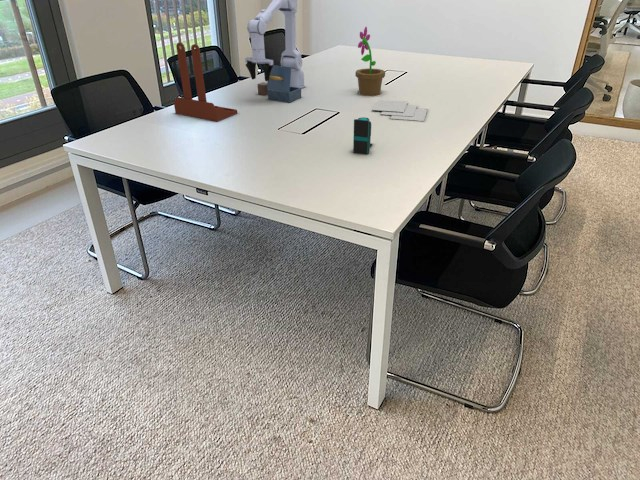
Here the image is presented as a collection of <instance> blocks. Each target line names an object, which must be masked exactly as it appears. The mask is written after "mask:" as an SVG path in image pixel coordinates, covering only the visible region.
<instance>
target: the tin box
mask: <svg viewBox="0 0 640 480" xmlns="http://www.w3.org/2000/svg"><path fill="white" fill-rule="evenodd" d="M267 92H268V95H267V100H270V101H276V102H282V103H289V104H290V103H292V102H295V101H297V100H299V99H301V98H302V88H297V87H290V91H289V92H283V91H276V90H270V89H268V90H267Z"/></svg>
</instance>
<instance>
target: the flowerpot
mask: <svg viewBox="0 0 640 480" xmlns="http://www.w3.org/2000/svg"><path fill="white" fill-rule="evenodd" d="M359 38H360V40H361V41H359V42H358V44H357V48H358V49H360V54H361V56H362V57H361V59H360V60H361V61H363V62H365V63H367V62H369V67H367V68H360V69H357V70H356V71H355V77H356V78H357V86H358V94H360V95H361V96H367V97H375V96H378V95H380V94H381V89H382V83H383V79H384V78H385V77H386V71H385V70H383V69H381V68H372V67H374V66H376V64H377V62H376V60H373V59H372V58H373V56H372V49H371V46H370V44H369V42H368V41H369V40H371V39H370V38H371V34H368V27H367V26H365V27H364V28H363V32H362V31H359ZM365 50H366V51H368V54H365ZM364 54H365V55H364ZM363 55H364V56H363Z"/></svg>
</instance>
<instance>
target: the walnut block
mask: <svg viewBox="0 0 640 480" xmlns="http://www.w3.org/2000/svg"><path fill="white" fill-rule="evenodd" d="M267 90H268V89H267V82H264V81H262V82H260V83H257V95H258V96H259V95H261V96H268V92H267Z"/></svg>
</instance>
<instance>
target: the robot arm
mask: <svg viewBox="0 0 640 480" xmlns="http://www.w3.org/2000/svg"><path fill="white" fill-rule="evenodd" d="M278 11H279V12H281V13H282V14H283V15H284V32H285V33H284V35H285V36H284V37H285V38H284V39H285V41H284V42H285V43H284V44H285V46H284V47H285V50H283V51H282V52H281V57H280V66H285V67H291V79H290V87H297V88H301V89H303V88H306V86H305V72H304V70H303V69H302V67H303V59H302V53H301V52H300V51H298V50H297V14H296V13H297V12H298V0H271V2H270V3H269V5H268V6H267V8H266V9H265V8H264V9H263V8H262V9H260V12H259V13H257V15H256V16H255V17H254V18H253V19H250V20H248V23H247V26H246V30H247V32H248V36H249V38H250V45H251V57H248V56H247V57H244V63H245V67H246V69H247V70H248V72H249V75H250V78H251V80H255V79H256V78H257V75H256V74H257V73H256V69H257V68H256V67H257V64H259V65H261V67H262V70H263V74H264V81H265V82H267V81H269V77H270V72H271V70H272V67H273V65H274V59H269V58H266V50H265V37H264V36H265V35H264V34H265V33H266V32H267V31H266V30H267V27H268V25H269V24H270V22H271V21H272V20H273V15H274V14H275V13H277V12H278Z"/></svg>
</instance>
